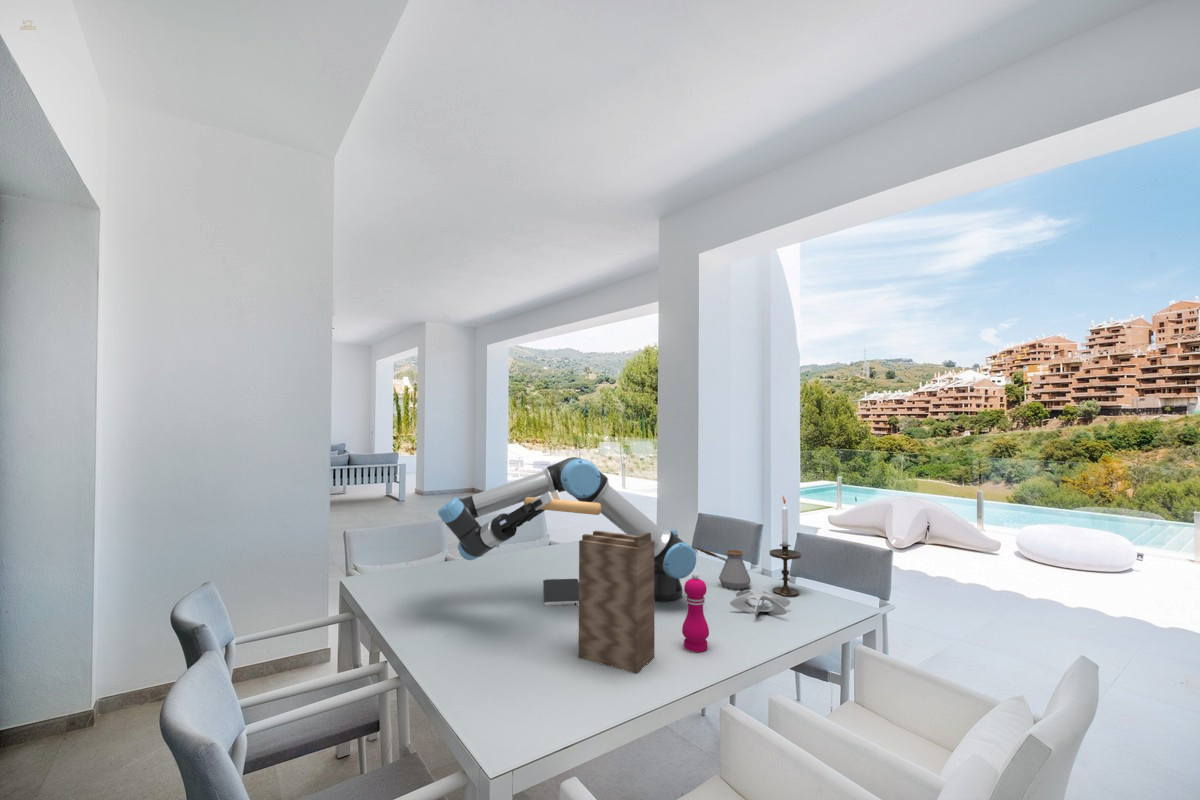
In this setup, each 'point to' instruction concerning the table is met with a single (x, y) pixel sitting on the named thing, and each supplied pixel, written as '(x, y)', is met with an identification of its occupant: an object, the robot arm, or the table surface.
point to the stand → (616, 599)
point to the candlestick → (785, 558)
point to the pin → (569, 506)
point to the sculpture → (776, 601)
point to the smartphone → (561, 592)
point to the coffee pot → (732, 570)
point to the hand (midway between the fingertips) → (554, 495)
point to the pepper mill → (695, 616)
